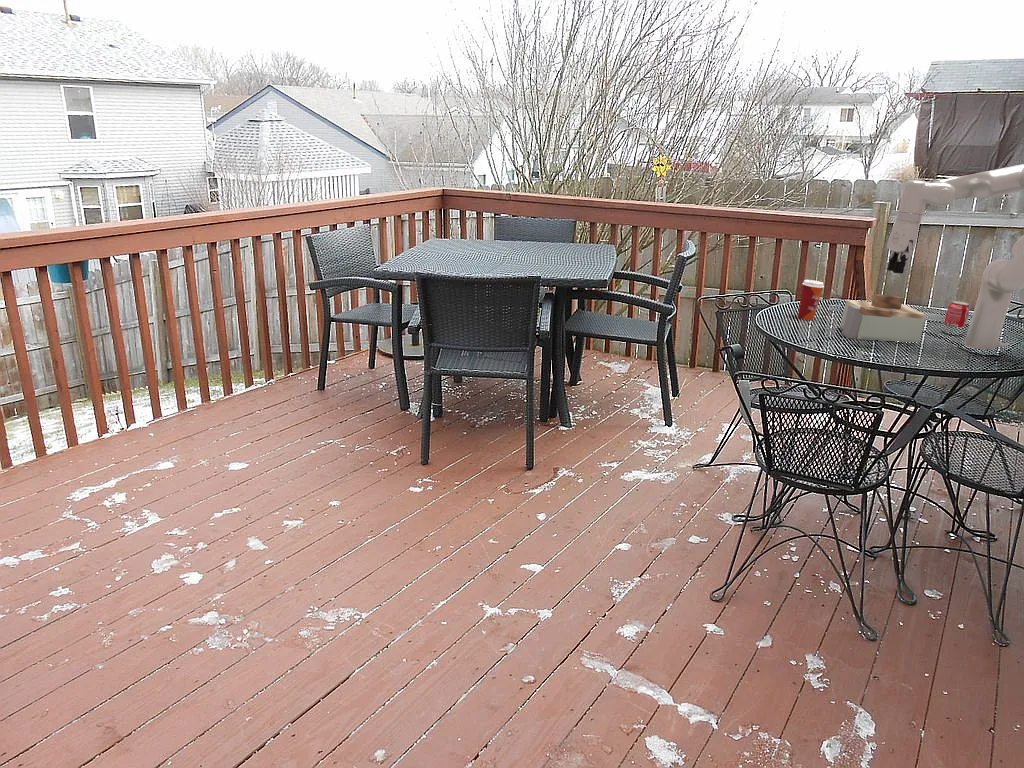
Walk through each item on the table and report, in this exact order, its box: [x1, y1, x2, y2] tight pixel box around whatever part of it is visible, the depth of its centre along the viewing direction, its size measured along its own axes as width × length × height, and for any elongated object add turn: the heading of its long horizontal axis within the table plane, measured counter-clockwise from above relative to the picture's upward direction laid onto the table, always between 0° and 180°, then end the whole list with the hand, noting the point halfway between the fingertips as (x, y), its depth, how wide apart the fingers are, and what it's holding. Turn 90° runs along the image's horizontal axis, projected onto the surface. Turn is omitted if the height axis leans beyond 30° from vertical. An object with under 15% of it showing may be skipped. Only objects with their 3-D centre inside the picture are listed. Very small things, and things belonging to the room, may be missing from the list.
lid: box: [845, 293, 927, 320], centre depth 269 cm, size 22×14×6 cm, turn 92°
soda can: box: [943, 300, 971, 328], centre depth 285 cm, size 7×7×12 cm
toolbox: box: [839, 303, 926, 343], centre depth 271 cm, size 25×14×10 cm, turn 92°
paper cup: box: [797, 279, 825, 321], centre depth 287 cm, size 8×8×14 cm
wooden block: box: [859, 306, 893, 317], centre depth 255 cm, size 9×4×2 cm, turn 92°
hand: (895, 271), depth 265 cm, fingers open, 3 cm apart
